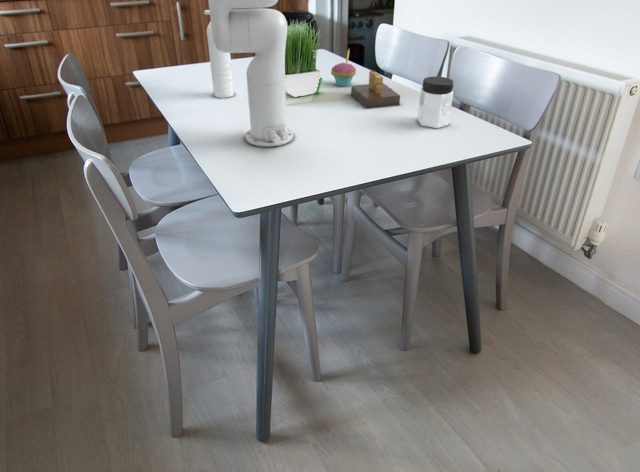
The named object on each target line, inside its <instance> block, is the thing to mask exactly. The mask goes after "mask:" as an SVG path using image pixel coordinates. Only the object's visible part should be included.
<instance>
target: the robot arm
mask: <svg viewBox="0 0 640 472" xmlns="http://www.w3.org/2000/svg"><path fill="white" fill-rule="evenodd" d="M207 2H208V10H210V13H209V14H210V15H209V18H210V21H211V26H212V34H213V40H214V43H215V46H216V48H217V49H218V50H219V51H221V52H223V53H230V54H244V53H246V54H247V53H251V54H255V55H254V56H253V58H252V59H251V60H250V62H249V64H248V66H247V68H246V84H247V96H248V111H249V112H248V113H249V125H250V129H249V130H248V131H246V132H245V135H244V136H245V141H246V142H247V143H248V144H251V145H253V146H257V147H262V148H263V147H266V148H268V147H269V148H271V147H279V146H283V145H285V144H288V143H289V142H291V141H292V140H293V139H294V132H293V131H292V129H290V128H288V123H287V122H288V118H287V117H288V115H287V91H286V87H285V78H286V47H287V38H288V37H287V36H288V22H287V19H286V17H285V15H284V14H283V13H282V12H281V11H280V10H277V9H273V8H270V7H273V6H275V5H277V4H278V2H279V0H207Z"/></svg>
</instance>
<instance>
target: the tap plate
mask: <svg viewBox="0 0 640 472" xmlns="http://www.w3.org/2000/svg"><path fill="white" fill-rule="evenodd" d="M350 87H351V89H350V95H351V96H352V97H353V98H354V99H355V100H356V101H358V103H360V104H361V105H362V106H363V107H364V108H365V109H374V108H384V107H392V106H393V107H394V106H400V103H401V95H400V94H398V93H397V92H396V91H394V90H393V89H392V87H390V86H388V85H386V84H385V83H383V86H382V93H380V94H376V93H375V92H374V91H373V90H371V89H370V88H369V83H367V84H356V85H351V86H350Z"/></svg>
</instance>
